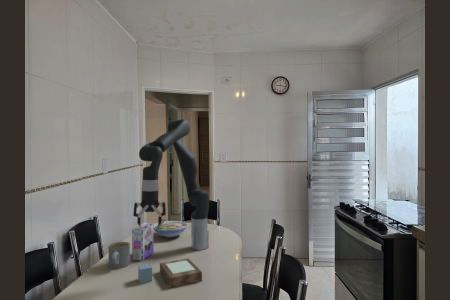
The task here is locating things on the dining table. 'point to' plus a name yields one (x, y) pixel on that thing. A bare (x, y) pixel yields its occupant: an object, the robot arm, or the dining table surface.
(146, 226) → the candy box
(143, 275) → the slate block
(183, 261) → the walnut base
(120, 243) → the coffee mug
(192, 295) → the dining table surface
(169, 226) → the ramen bowl
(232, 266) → the dining table surface
